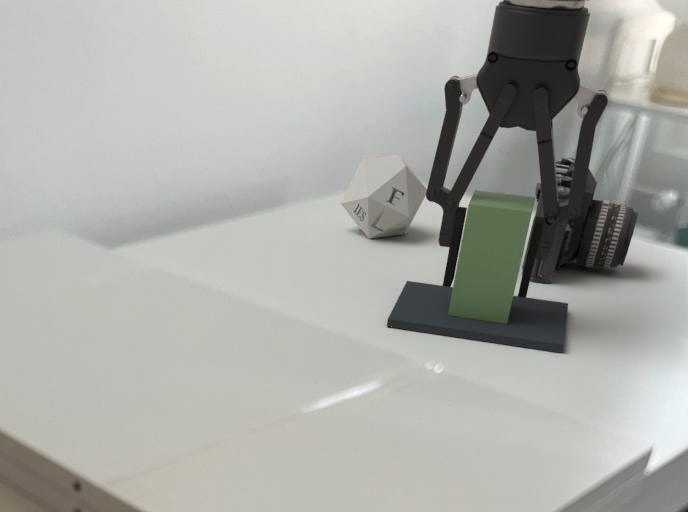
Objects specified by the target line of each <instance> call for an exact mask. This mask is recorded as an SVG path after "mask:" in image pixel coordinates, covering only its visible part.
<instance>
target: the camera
mask: <svg viewBox="0 0 688 512" xmlns="http://www.w3.org/2000/svg"><path fill="white" fill-rule="evenodd" d="M555 162H556V175H557V187H558V199H559V203H563V202H567V201H568V200H569V194H570V188H571V181H572V175H573V169H574V163H575V158H573V157H566V158H564V157H561V160H557V161H555ZM597 184H598V182H597V181H596V179H595V177H594V175H593V173H592V171H591V170H590V168H589V169H588V175H587V181H586V187H585V193H584V199H583V204H582V210H581V214H580V216H579V217H578V218H576V219H567V220H563V221H561V222H559V223H558V224H557V226H556V229H555V233H554V237H553V241H552V246H551V250H550V254H549V256H548V257H547V259H546V260H542V259H535V261H534V265H533V270H532V274H531V278H530V282H534V283H541V284H550V283H552V280H553V279H554V276H555V272H556V271H559V270H560V266H561V265H565V264H568V263H571V262H575V263H574V264H575V265H579V266H584V267H585V268H590V269H591V268H597V267H599V268H602V269H605V270H606V269H607V270H609V268H613V269H615V268H617V267H618V266H624V264H625V260H626V258H627V255H628V252H629V248H630V244H631V241H632V238H633V235H634V231H635V227H636V224H637V221H638V215H639V212H637V211H634V209H633V207H629V206H627V204H623V203H621V204H616V203H615V202H611V201H610V200H609V199H603V200H598V199H594V196H595V193H596V188H597ZM534 195H535V196H534V197H535V200H536V202H537V206H536V209H535V214H534V217H533V220H532V224H531V228H530V232H529V235H528V239H527V240H528V241H527V245H526V249H525V253H524V257H523V262H522V266H521V269H522V271H521V276H522V275H523V271H524V266H525V262H526V258H527V253H528V249H529V244H530V240H531V236H532V231H533V227H534V222H535V218H536V216H538V217H544V211H543V200H542V189H541V182H537V183H536V186H535V192H534Z"/></svg>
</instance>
